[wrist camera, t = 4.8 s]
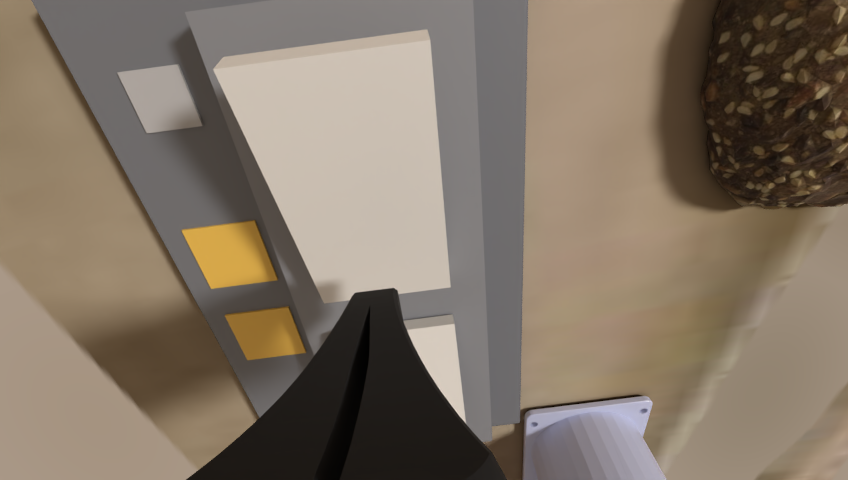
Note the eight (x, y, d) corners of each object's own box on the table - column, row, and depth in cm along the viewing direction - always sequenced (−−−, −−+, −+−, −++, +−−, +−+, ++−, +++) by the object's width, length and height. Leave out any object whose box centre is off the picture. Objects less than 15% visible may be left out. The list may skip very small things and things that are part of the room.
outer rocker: (446, 262, 16) (450, 287, 15) (327, 278, 16) (323, 303, 15) (425, 23, 10) (430, 39, 9) (229, 49, 10) (213, 69, 9)
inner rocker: (469, 462, 20) (473, 485, 19) (373, 474, 20) (371, 497, 19) (451, 308, 17) (454, 323, 16) (340, 322, 17) (334, 338, 16)
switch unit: (515, 408, 24) (526, 446, 22) (282, 437, 25) (271, 478, 22) (520, -68, 12) (546, -85, 10) (55, -3, 12) (-18, -6, 10)
